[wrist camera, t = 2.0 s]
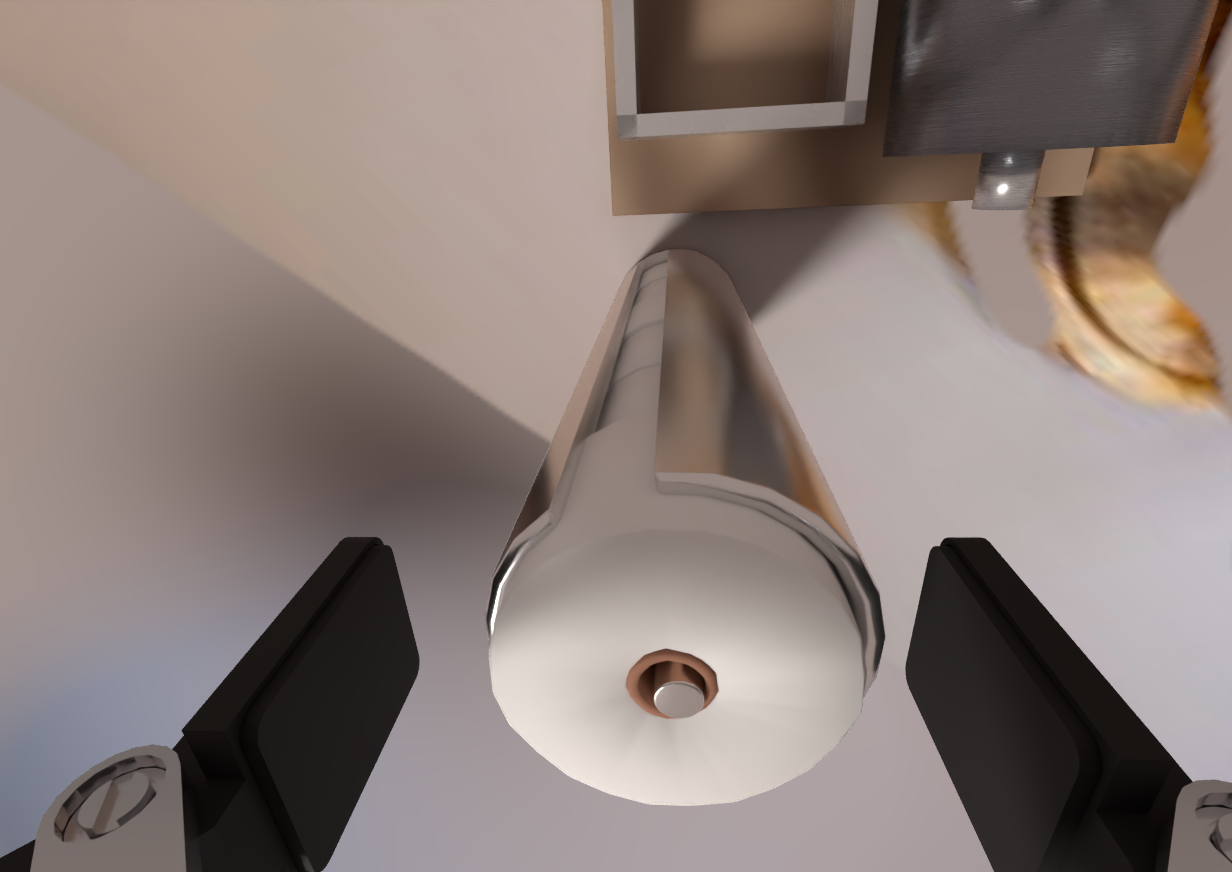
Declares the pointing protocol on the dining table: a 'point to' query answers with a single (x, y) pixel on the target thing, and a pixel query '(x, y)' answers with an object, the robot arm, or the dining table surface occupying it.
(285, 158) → the dining table surface
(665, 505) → the silver tall cylinder
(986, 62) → the motor mount
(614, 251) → the dining table surface
